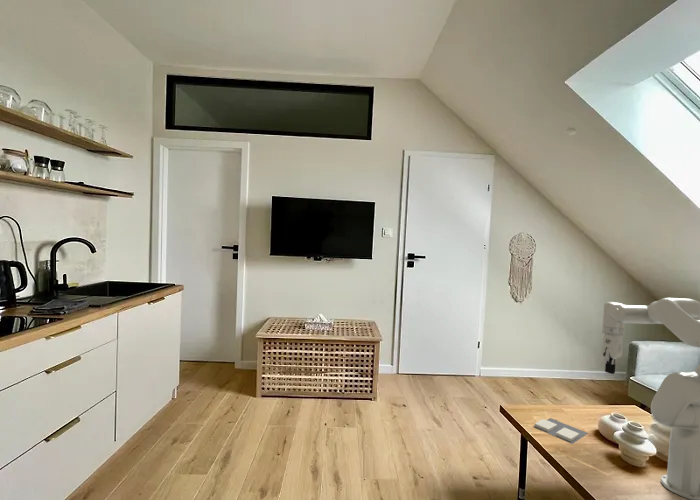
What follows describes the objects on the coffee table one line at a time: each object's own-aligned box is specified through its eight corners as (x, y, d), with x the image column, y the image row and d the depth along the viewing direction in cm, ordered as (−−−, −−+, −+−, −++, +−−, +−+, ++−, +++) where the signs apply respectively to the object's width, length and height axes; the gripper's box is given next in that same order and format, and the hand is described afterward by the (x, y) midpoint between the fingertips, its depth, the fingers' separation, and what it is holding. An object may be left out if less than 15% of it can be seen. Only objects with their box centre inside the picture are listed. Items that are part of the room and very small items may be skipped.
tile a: (579, 433, 159) (571, 438, 154) (579, 436, 159) (570, 441, 154) (564, 427, 163) (556, 432, 159) (564, 430, 163) (555, 435, 159)
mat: (588, 434, 162) (588, 433, 162) (572, 445, 152) (572, 443, 152) (550, 419, 175) (550, 418, 175) (533, 428, 165) (533, 427, 165)
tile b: (557, 424, 166) (548, 429, 161) (557, 427, 166) (548, 432, 161) (543, 418, 171) (534, 423, 166) (543, 421, 171) (534, 426, 166)
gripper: (616, 334, 155) (613, 378, 155) (629, 330, 164) (626, 372, 164) (596, 330, 161) (593, 373, 161) (609, 327, 170) (606, 367, 170)
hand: (609, 372), depth 163 cm, fingers closed
